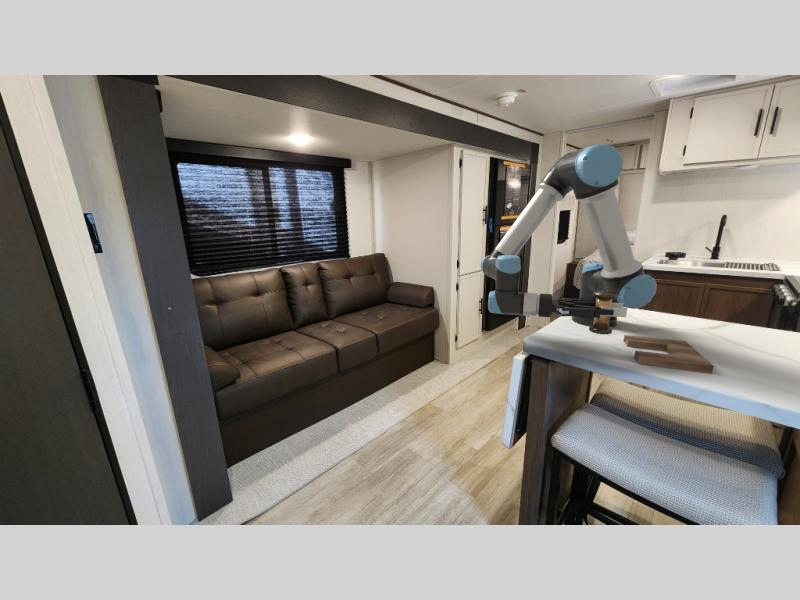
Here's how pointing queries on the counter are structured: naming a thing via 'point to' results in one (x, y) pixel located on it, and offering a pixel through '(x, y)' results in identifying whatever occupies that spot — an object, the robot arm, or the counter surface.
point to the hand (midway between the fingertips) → (624, 310)
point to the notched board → (677, 358)
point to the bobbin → (603, 322)
